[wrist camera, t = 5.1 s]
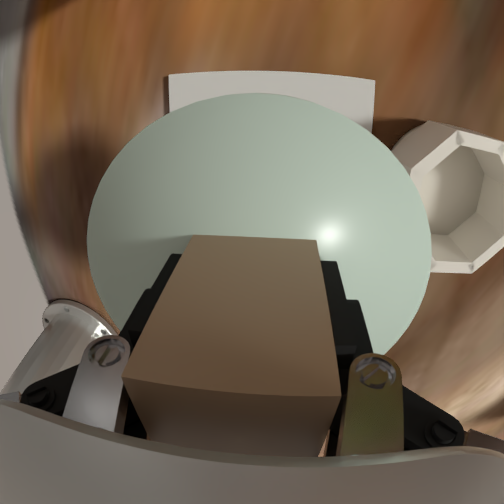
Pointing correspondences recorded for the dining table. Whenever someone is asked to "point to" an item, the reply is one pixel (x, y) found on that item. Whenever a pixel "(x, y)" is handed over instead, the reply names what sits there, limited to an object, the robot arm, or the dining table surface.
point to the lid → (253, 266)
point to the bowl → (457, 192)
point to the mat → (279, 90)
